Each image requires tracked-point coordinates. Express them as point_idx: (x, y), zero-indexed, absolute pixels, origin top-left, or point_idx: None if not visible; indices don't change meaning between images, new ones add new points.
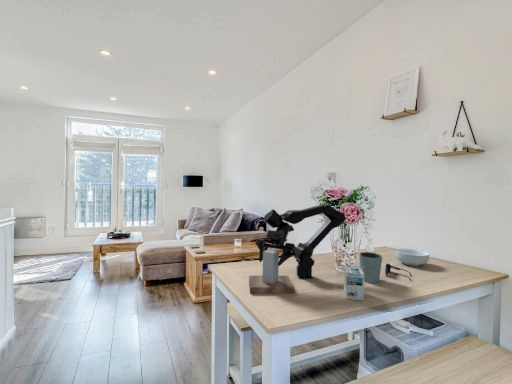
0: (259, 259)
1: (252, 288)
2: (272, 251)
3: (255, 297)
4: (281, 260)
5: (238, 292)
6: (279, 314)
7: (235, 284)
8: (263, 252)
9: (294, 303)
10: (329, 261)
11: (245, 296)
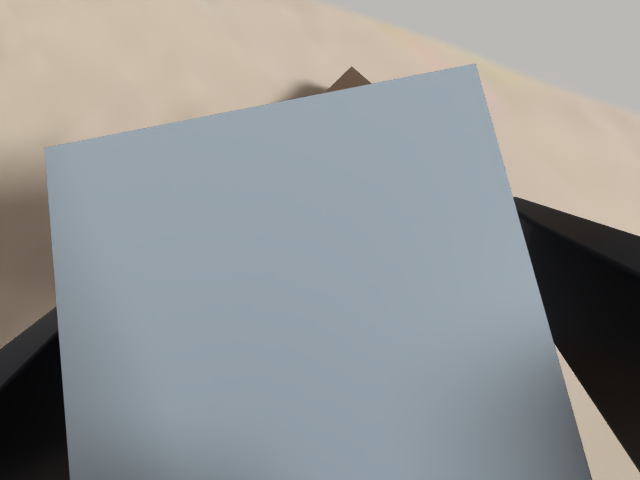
0: (531, 204)
1: (337, 84)
2: (243, 358)
3: (274, 75)
4: (18, 342)
5: (424, 50)
6: (14, 10)
7: (569, 137)
8: (447, 79)
9: (12, 189)
10: None
11: (336, 39)
